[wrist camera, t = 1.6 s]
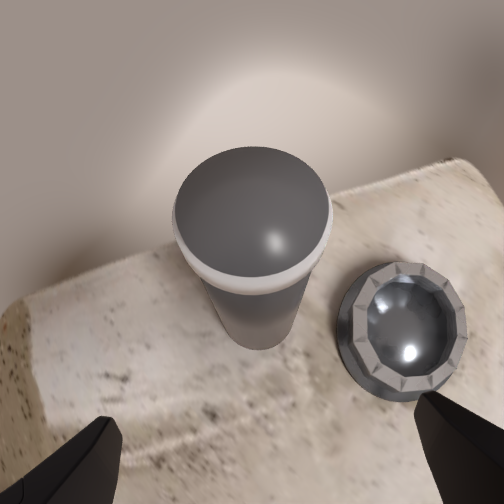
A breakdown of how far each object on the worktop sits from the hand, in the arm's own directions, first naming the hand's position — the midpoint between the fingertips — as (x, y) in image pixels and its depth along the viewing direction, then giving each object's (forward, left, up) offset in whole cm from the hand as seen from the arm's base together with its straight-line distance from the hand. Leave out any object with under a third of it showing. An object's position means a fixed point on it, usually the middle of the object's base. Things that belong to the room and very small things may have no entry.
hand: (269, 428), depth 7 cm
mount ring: (+10, -6, -13) cm, 17 cm away
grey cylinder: (+5, +4, -13) cm, 15 cm away
